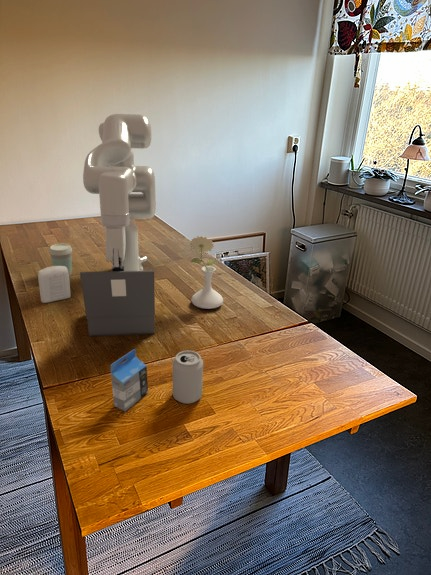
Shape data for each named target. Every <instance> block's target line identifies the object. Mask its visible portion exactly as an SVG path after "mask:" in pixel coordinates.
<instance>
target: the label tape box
mask: <svg viewBox="0 0 431 575" xmlns="http://www.w3.org/2000/svg"><path fill="white" fill-rule="evenodd" d="M136 349H137V348H135V349H132V350H130V351H129V352H128V353H126V354H125V355H123V356H122V357H120V358H118V359H117V360H115V361H114V362H113V363H112V364H110V378H111V379H110V380H111V388H112V396H113V407H114V408H115V407H116V408H117V409H119V410H121V411H124V412H127V411H128V410H129V409H131V407H132V406H134V405H135V404H136V403H137V402H139V401H140V400H141V399H142V398H144V397H145V396H146V394H148V393H149V383H148V382H149V380H148V367H147V365H146V364H145V363H144V362H143V361H141V359H139V357H137V356H136V353H137V352H136ZM124 360H125V361H124Z"/></svg>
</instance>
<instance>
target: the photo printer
mask: <svg viewBox="0 0 431 575" xmlns="http://www.w3.org/2000/svg"><path fill="white" fill-rule="evenodd" d="M37 274H38V275H37V278H38V287H39V294H40V302H41V303H43V304H46V303H52V302H56V301H62V300H66V299H70V298H71V297H72V296H71V284H70V277H69V273H68V270H67V267H66V266H53V265H52V266H47V267H44V268H42V269H40V270H38V272H37Z"/></svg>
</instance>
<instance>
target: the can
mask: <svg viewBox="0 0 431 575" xmlns="http://www.w3.org/2000/svg"><path fill="white" fill-rule="evenodd" d="M203 373H204V360H203V358H202V357H201V354H199V353H198V352H197V351H193V350H183V351H182V350H181V351H179V352H178V353H177V354H176V355H175V357H174V359H173V360H172V396H173V398H174V399H175V400H176V401H178V402H180V403H182V404H193V403H195V402H197V401H199V400H200V399H201V398H202V396H203V382H204V381H203V379H204V378H203V377H204V374H203Z"/></svg>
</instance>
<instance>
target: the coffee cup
mask: <svg viewBox="0 0 431 575" xmlns="http://www.w3.org/2000/svg"><path fill="white" fill-rule="evenodd" d="M48 253H49V255H50V258H51V263H52V266H66V267H67V270H68V273H69V278H70V277H71V276H72V253H73V249H72V247H71V245H70V244H67V243H55V244H52V245H50V247H49V250H48Z"/></svg>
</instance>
